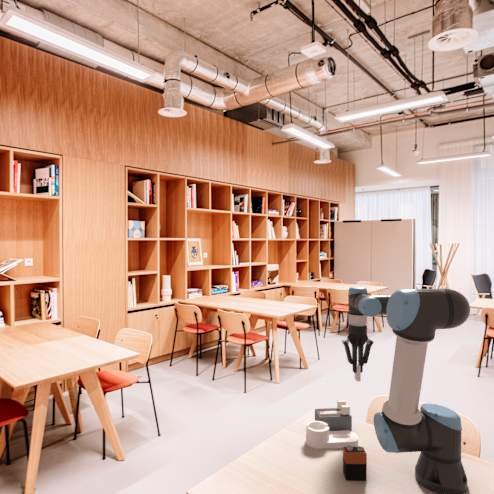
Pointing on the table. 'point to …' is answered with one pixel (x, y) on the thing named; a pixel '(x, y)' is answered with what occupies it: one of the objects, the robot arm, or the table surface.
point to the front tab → (345, 409)
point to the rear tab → (340, 403)
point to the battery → (354, 463)
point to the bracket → (328, 436)
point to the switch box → (334, 419)
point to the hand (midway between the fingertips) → (357, 379)
